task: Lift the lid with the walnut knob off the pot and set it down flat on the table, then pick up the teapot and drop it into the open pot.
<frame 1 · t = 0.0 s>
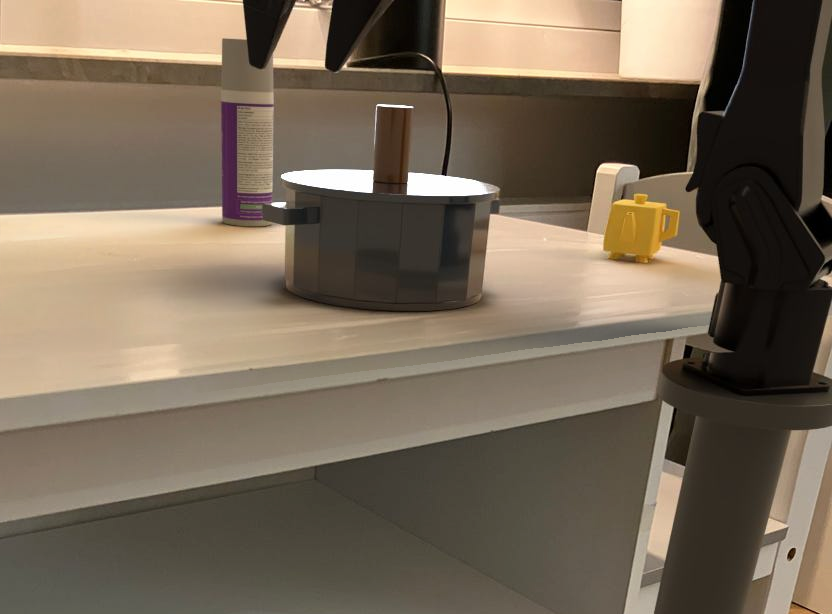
hand: (295, 69, 73), 13 cm above the table, tool pointing down, fingers open, 9 cm apart
teapot: (636, 261, 92), on the table
pot: (383, 290, 73), on the table
container: (247, 225, 99), on the table
lid: (389, 189, 70), point 6 cm above the table, touching pot
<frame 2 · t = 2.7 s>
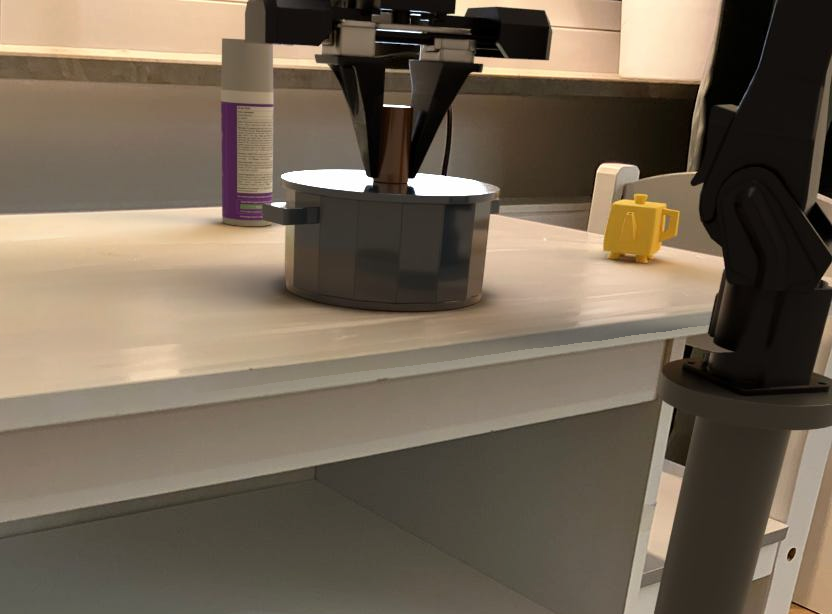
hand: (390, 178, 70), 7 cm above the table, tool pointing down, fingers closed on lid, 2 cm apart
lid: (389, 189, 70), point 7 cm above the table, touching gripper, pot
everything else where it was.
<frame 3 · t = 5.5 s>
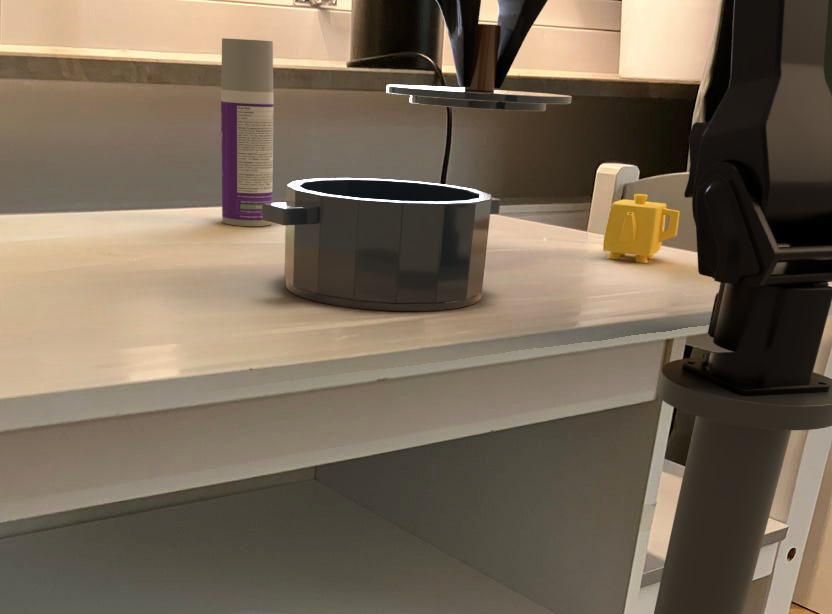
hand: (479, 87, 83), 13 cm above the table, tool pointing down, fingers closed on lid, 2 cm apart
lid: (478, 97, 83), point 12 cm above the table, touching gripper
everything else where it was.
when the fingers open (1 cm above the table, at t = 8.3 s): lid stays where it is, point 1 cm above the table.
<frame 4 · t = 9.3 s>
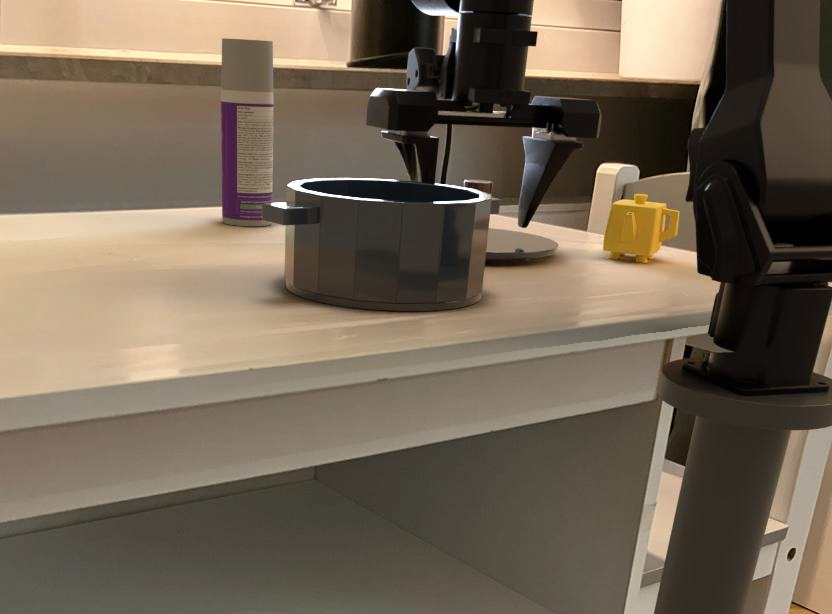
hand: (473, 226, 90), 2 cm above the table, tool pointing down, fingers open, 9 cm apart
lid: (472, 244, 90), point 1 cm above the table
everything else where it was.
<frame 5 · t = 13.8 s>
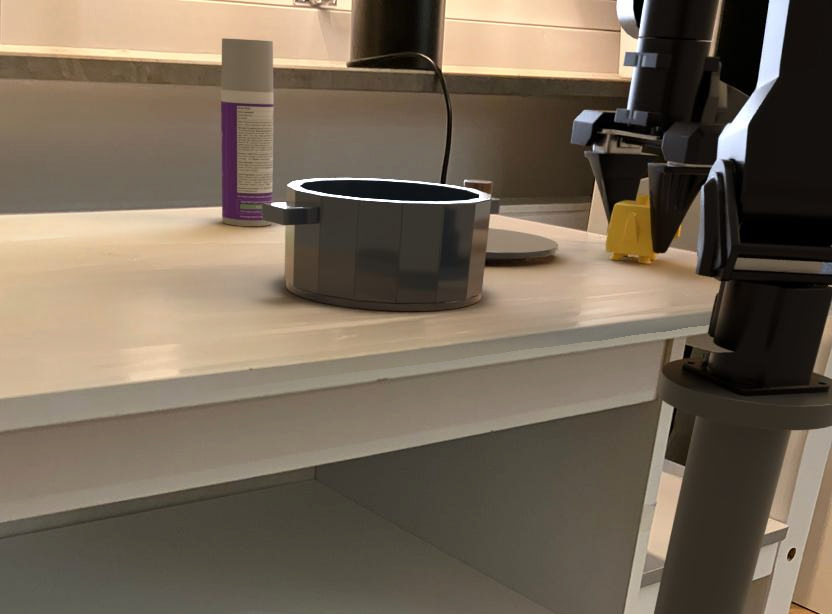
hand: (638, 246, 91), 1 cm above the table, tool pointing down, fingers closed on teapot, 6 cm apart
teapot: (639, 262, 91), on the table, touching gripper
everything else where it was.
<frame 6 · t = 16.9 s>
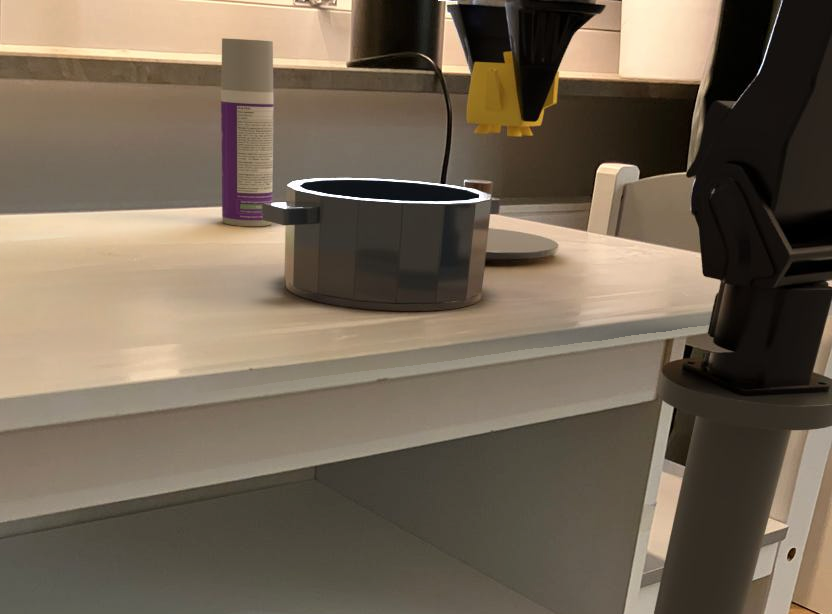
hand: (509, 118, 75), 11 cm above the table, tool pointing down, fingers closed on teapot, 6 cm apart
teapot: (510, 137, 75), point 10 cm above the table, touching gripper
everything else where it was.
when the fingers open (3 cm above the table, at t = 20.4 s): teapot drops 2 cm, resting on pot.
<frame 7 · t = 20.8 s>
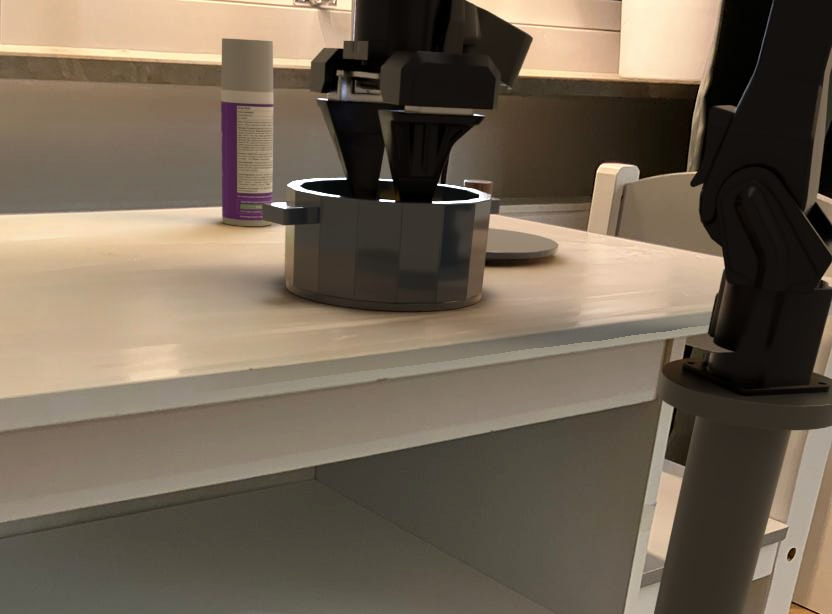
hand: (387, 221, 71), 5 cm above the table, tool pointing down, fingers open, 9 cm apart
teapot: (387, 287, 73), resting on pot
everything else where it was.
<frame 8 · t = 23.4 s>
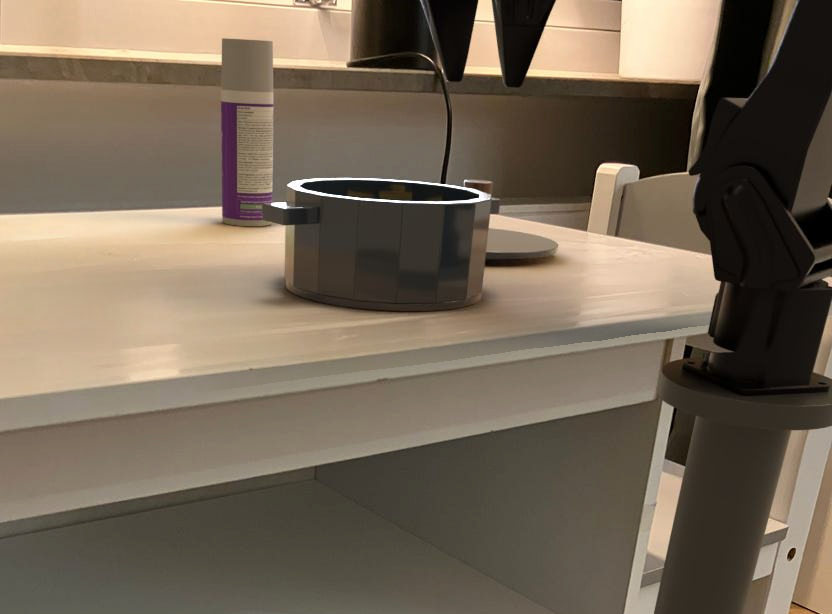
hand: (481, 84, 69), 13 cm above the table, tool pointing down, fingers open, 9 cm apart
nothing on the table moved.
at the end: lid inside the target area (0.0 cm from its centre), point 0.6 cm above the table; teapot inside the target area in the pot (0.6 cm from its centre), point 0.3 cm above the pot's base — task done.
